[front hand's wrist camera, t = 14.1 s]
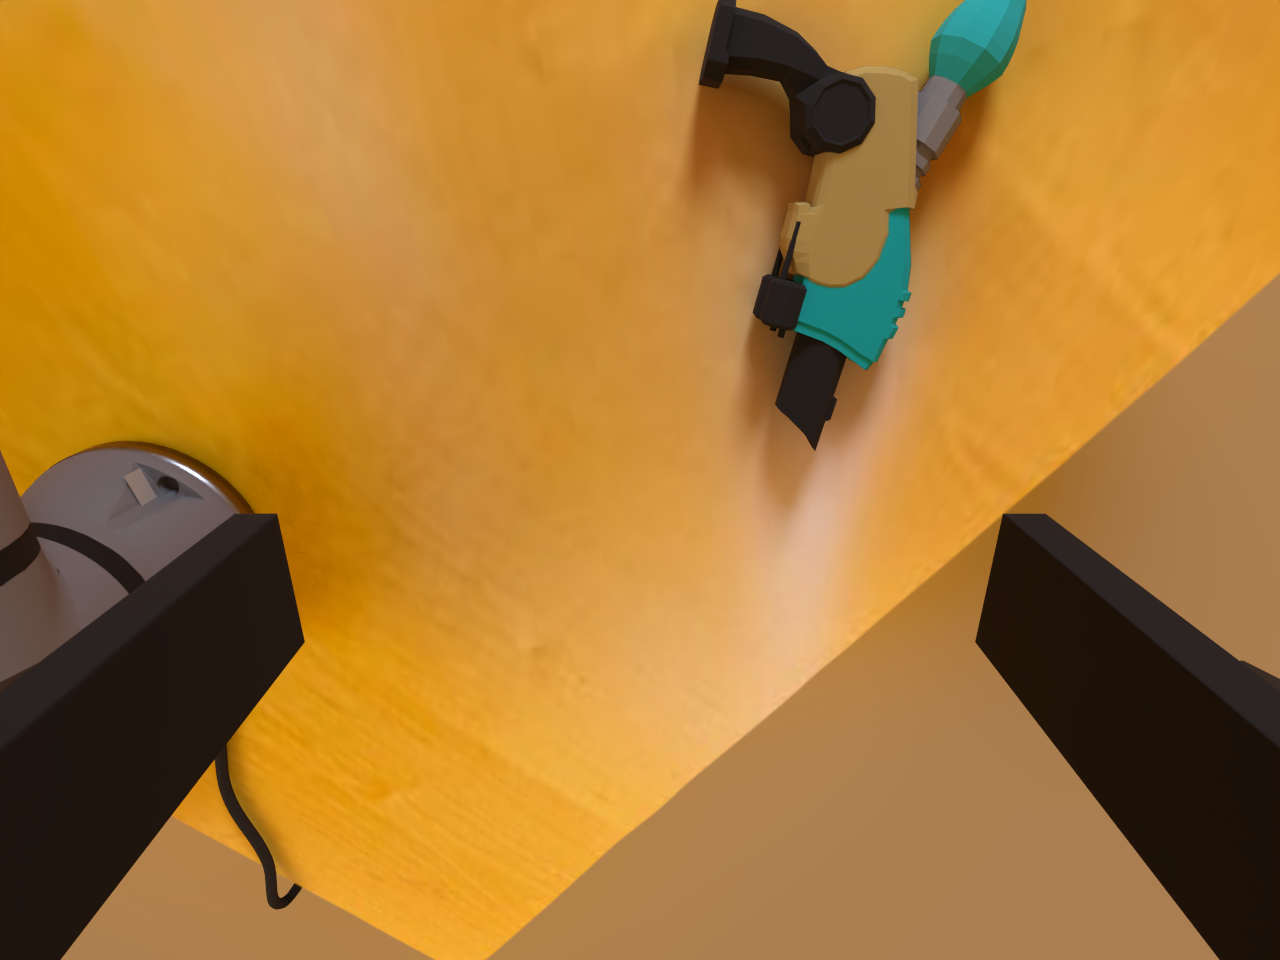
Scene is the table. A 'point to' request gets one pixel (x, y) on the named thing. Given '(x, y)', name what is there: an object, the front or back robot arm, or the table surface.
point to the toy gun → (853, 182)
